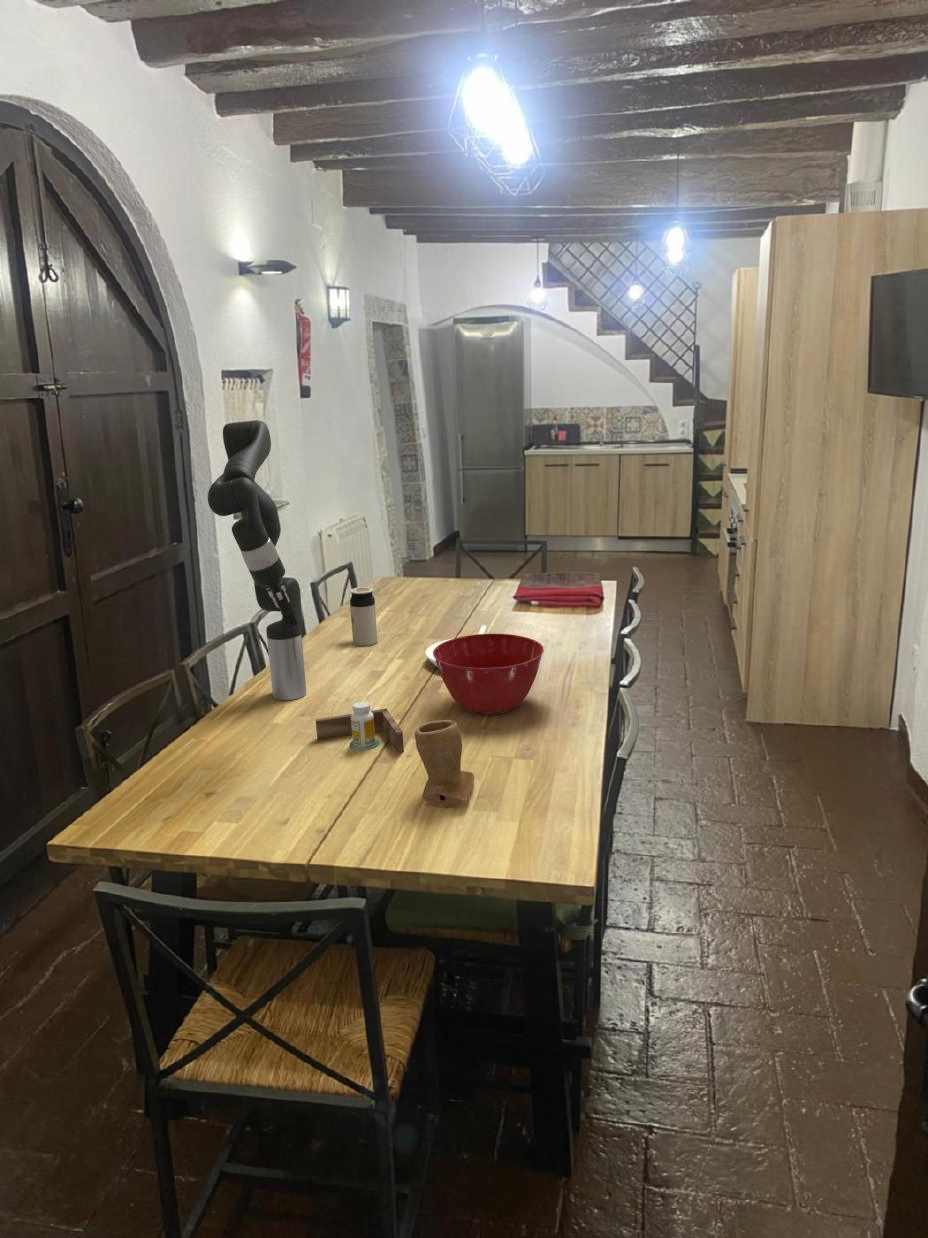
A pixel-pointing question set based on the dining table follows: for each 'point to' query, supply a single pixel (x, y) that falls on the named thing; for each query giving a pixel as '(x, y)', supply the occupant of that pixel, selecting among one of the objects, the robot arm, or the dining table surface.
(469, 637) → the mixing bowl
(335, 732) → the corner arena
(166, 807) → the dining table surface
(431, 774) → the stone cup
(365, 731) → the supplement bottle
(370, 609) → the travel mug
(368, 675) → the dining table surface
